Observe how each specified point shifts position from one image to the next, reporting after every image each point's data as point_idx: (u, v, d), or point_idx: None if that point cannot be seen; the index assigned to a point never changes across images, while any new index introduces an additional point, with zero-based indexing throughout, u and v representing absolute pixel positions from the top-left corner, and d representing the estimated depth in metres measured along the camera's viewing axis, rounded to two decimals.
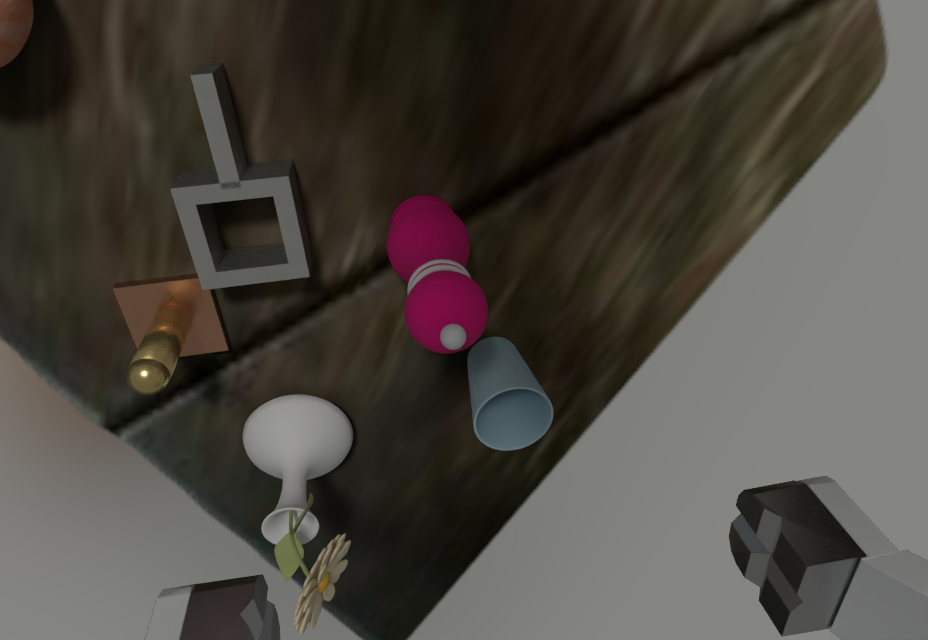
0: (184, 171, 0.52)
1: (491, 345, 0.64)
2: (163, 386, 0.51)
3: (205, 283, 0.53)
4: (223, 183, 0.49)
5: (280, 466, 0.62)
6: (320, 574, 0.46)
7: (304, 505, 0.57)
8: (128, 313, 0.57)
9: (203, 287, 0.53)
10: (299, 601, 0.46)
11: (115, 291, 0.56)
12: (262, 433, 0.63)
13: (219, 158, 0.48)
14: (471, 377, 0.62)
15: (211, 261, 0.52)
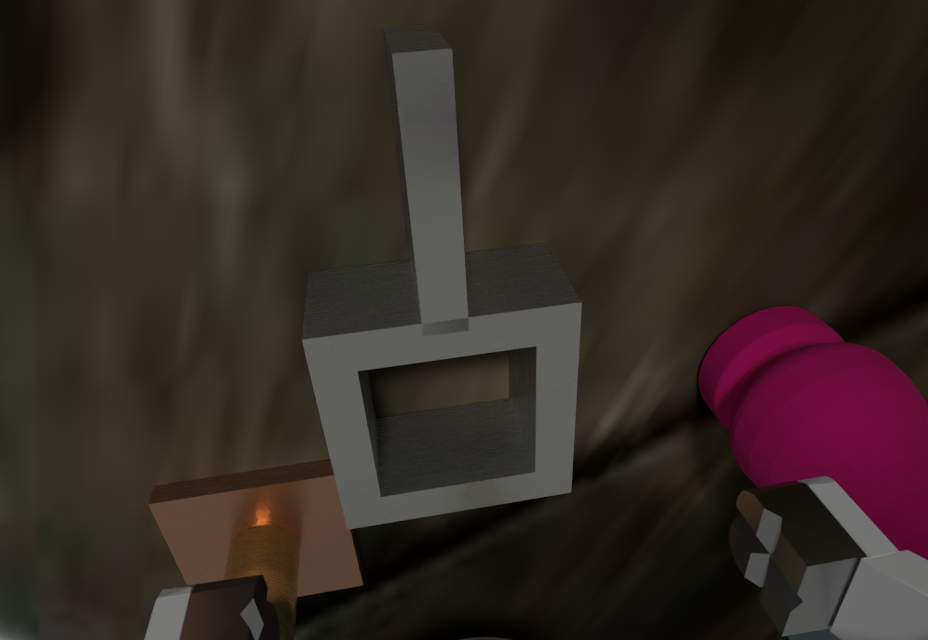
0: (313, 276, 0.23)
1: None
2: None
3: (356, 518, 0.24)
4: (429, 323, 0.20)
5: None
6: None
7: None
8: (178, 543, 0.28)
9: (350, 525, 0.24)
10: None
11: (153, 508, 0.27)
12: None
13: (430, 268, 0.19)
14: None
15: (374, 478, 0.23)
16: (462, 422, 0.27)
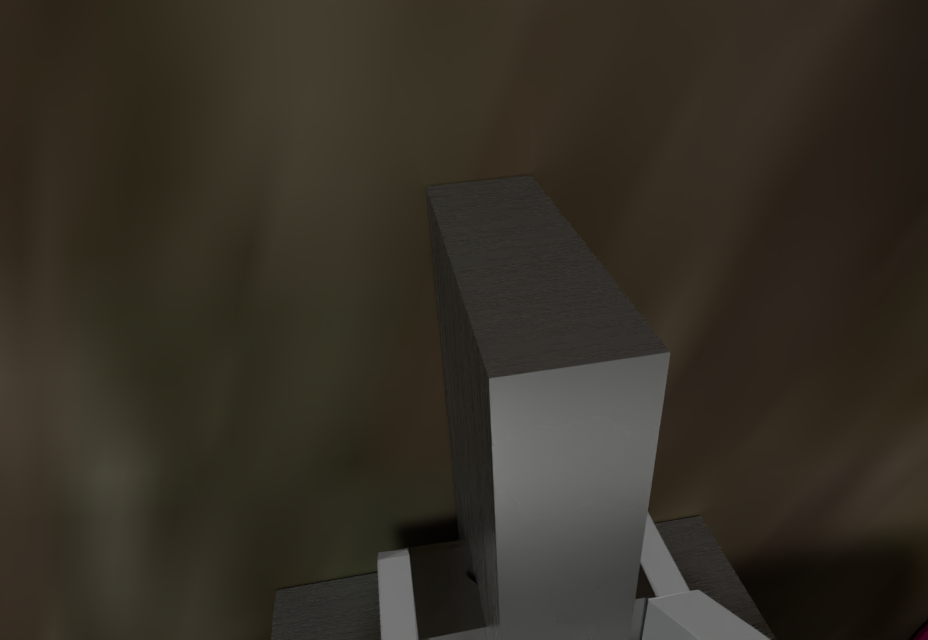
0: (284, 607, 0.12)
1: None
2: None
3: None
4: None
5: None
6: None
7: None
8: None
9: None
10: None
11: None
12: None
13: None
14: None
15: None
16: None
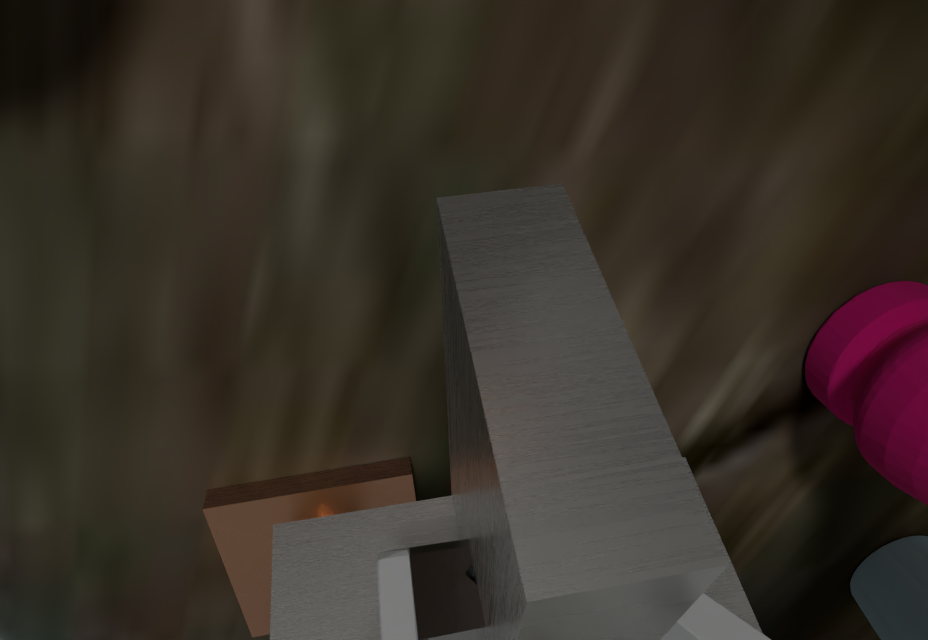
0: (282, 542, 0.13)
1: None
2: None
3: None
4: None
5: None
6: None
7: None
8: (232, 554, 0.25)
9: None
10: None
11: (208, 514, 0.24)
12: None
13: None
14: None
15: None
16: None
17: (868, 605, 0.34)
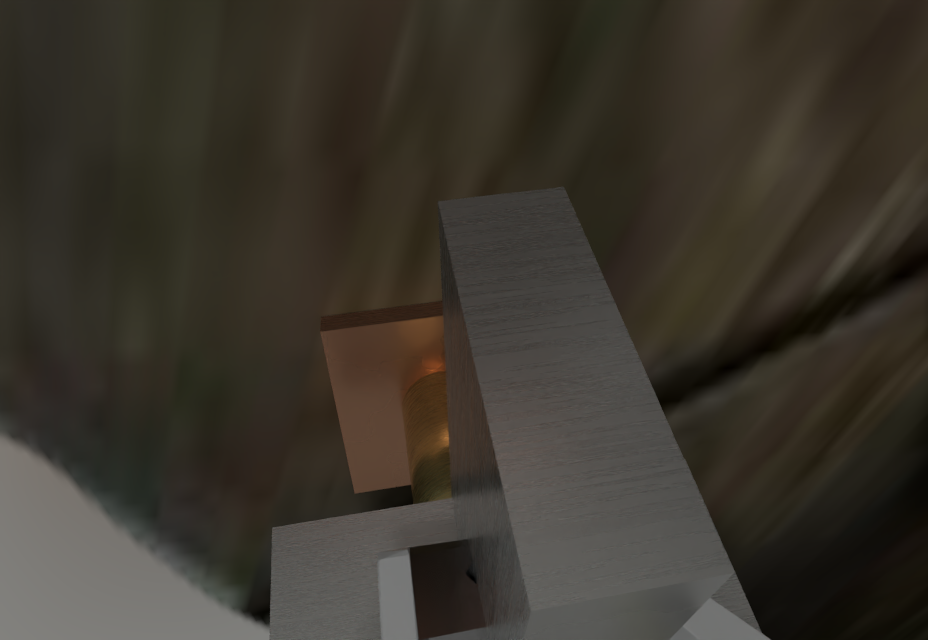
0: (282, 545, 0.13)
1: None
2: None
3: None
4: None
5: None
6: None
7: None
8: (345, 390, 0.23)
9: None
10: None
11: (325, 339, 0.22)
12: None
13: None
14: None
15: None
16: None
17: None
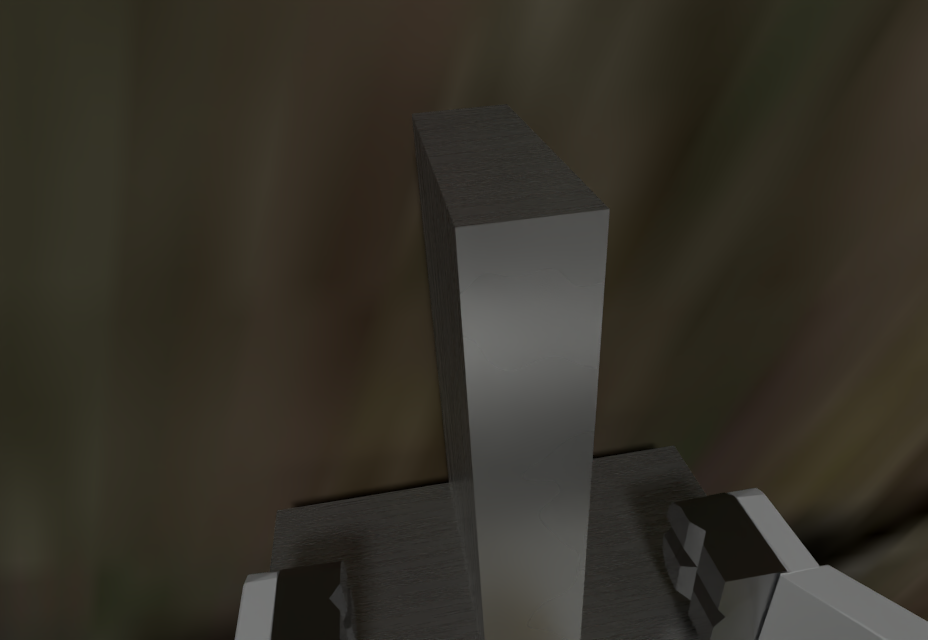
0: (284, 524, 0.13)
1: None
2: None
3: None
4: None
5: None
6: None
7: None
8: None
9: None
10: None
11: None
12: None
13: (513, 609, 0.09)
14: None
15: None
16: None
17: None
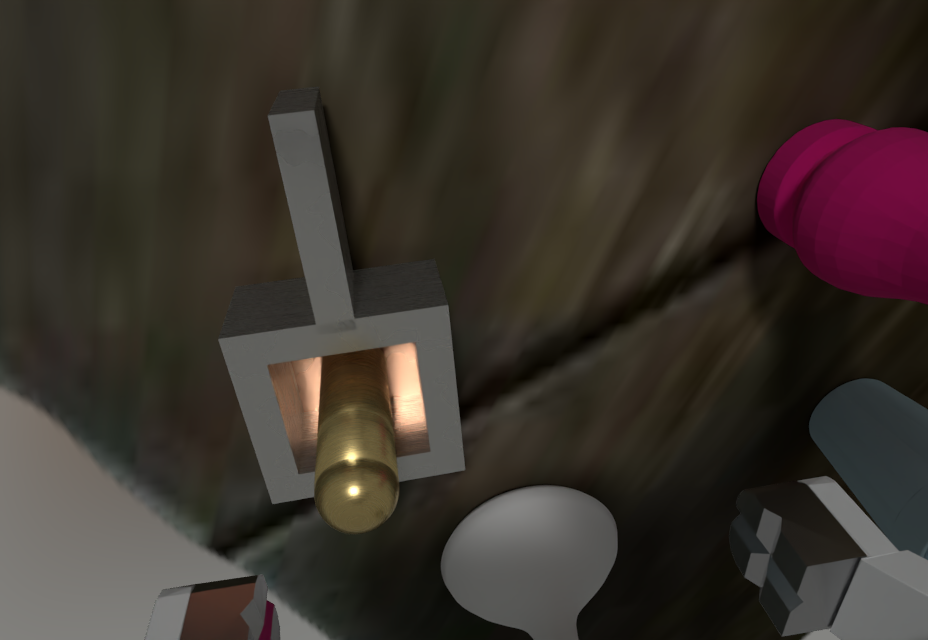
0: (238, 290, 0.28)
1: (877, 395, 0.37)
2: (390, 515, 0.24)
3: (279, 493, 0.28)
4: (322, 324, 0.25)
5: (526, 619, 0.35)
6: None
7: None
8: None
9: (274, 499, 0.29)
10: None
11: None
12: (490, 558, 0.36)
13: (318, 279, 0.24)
14: (861, 454, 0.35)
15: (290, 457, 0.28)
16: None
17: (823, 438, 0.38)
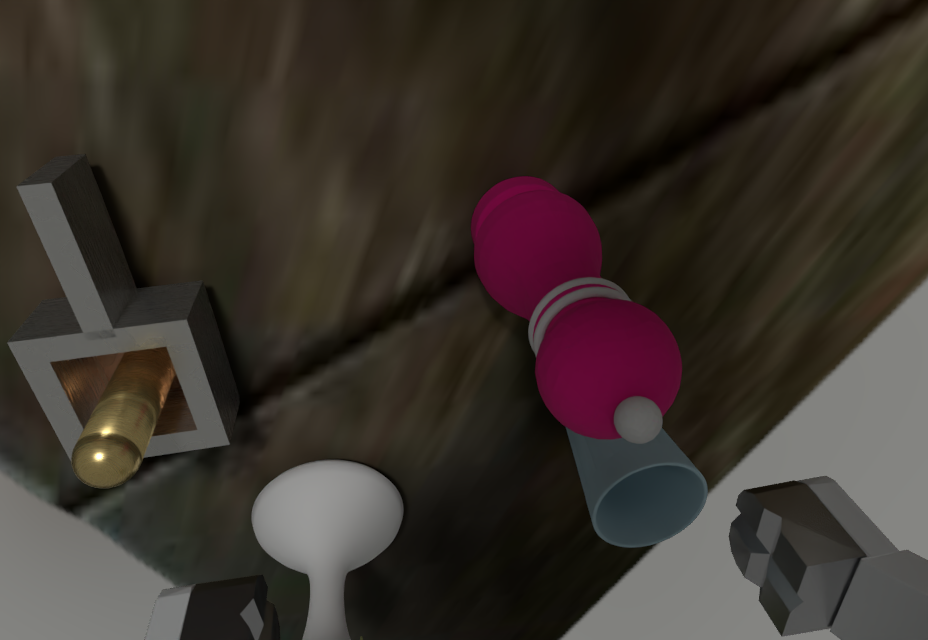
0: (43, 303, 0.36)
1: None
2: (130, 475, 0.32)
3: None
4: (88, 332, 0.33)
5: (306, 565, 0.44)
6: None
7: (344, 636, 0.39)
8: None
9: None
10: None
11: None
12: (280, 517, 0.44)
13: (78, 300, 0.32)
14: (578, 438, 0.44)
15: None
16: (170, 399, 0.40)
17: None
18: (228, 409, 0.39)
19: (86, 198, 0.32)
